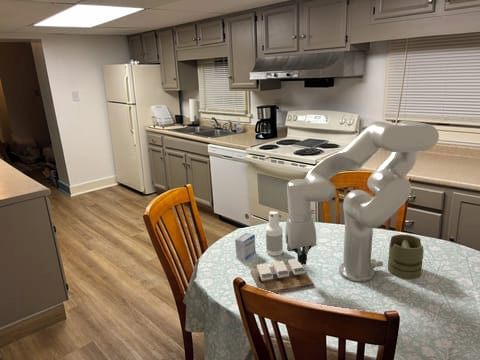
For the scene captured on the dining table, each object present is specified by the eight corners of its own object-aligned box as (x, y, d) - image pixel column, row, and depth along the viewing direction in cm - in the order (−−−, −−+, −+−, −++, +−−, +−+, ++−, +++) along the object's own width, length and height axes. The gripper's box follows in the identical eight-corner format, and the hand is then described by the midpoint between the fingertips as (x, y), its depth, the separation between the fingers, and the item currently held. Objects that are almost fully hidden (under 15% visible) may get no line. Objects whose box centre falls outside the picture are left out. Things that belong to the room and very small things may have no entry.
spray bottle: (263, 254, 152) (262, 214, 147) (270, 247, 158) (269, 208, 153) (279, 257, 149) (278, 216, 144) (285, 250, 155) (284, 210, 149)
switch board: (297, 265, 143) (297, 257, 142) (313, 286, 129) (313, 278, 128) (250, 272, 139) (250, 265, 138) (261, 295, 125) (261, 287, 124)
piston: (391, 247, 128) (388, 233, 138) (389, 277, 132) (386, 261, 142) (427, 250, 125) (421, 235, 135) (423, 280, 129) (418, 264, 139)
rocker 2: (297, 260, 138) (298, 258, 137) (305, 273, 132) (305, 270, 131) (287, 262, 137) (287, 259, 136) (294, 275, 131) (294, 272, 130)
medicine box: (244, 261, 148) (243, 241, 145) (236, 258, 150) (234, 239, 148) (256, 253, 154) (255, 234, 151) (247, 250, 156) (246, 231, 154)
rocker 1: (267, 265, 135) (267, 262, 135) (272, 278, 129) (273, 276, 129) (256, 267, 134) (256, 264, 134) (262, 280, 128) (262, 277, 128)
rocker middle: (282, 263, 136) (282, 260, 136) (289, 276, 130) (289, 273, 130) (272, 264, 136) (272, 261, 135) (278, 278, 130) (278, 275, 129)
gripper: (315, 207, 130) (317, 253, 135) (275, 215, 127) (279, 262, 133) (325, 215, 123) (326, 263, 128) (282, 223, 120) (286, 272, 126)
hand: (302, 262), depth 131 cm, fingers closed
